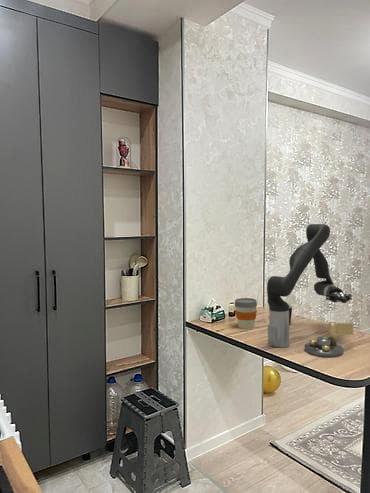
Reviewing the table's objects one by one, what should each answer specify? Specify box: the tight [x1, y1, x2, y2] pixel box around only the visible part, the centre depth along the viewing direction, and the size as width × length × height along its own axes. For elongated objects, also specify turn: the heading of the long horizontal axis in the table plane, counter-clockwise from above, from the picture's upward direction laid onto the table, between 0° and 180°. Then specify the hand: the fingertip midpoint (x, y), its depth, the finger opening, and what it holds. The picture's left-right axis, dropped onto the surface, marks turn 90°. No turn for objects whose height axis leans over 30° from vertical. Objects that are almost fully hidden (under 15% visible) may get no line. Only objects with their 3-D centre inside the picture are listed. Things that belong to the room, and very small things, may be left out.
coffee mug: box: [289, 305, 293, 326], centre depth 226 cm, size 12×9×10 cm
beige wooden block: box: [327, 321, 354, 347], centre depth 180 cm, size 11×4×10 cm, turn 86°
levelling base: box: [303, 335, 345, 358], centre depth 179 cm, size 17×17×6 cm
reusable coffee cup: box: [234, 297, 258, 330], centre depth 221 cm, size 13×13×15 cm
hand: (344, 300), depth 182 cm, fingers closed
